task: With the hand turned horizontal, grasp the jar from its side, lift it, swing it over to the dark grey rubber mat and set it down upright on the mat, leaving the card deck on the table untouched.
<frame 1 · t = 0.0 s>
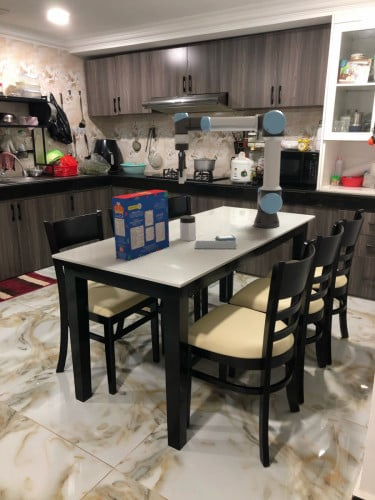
hand: (182, 182, 218), 28 cm above the table, tool pointing down, fingers open, 13 cm apart
blue cardboard box: (144, 252, 185), on the table
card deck: (225, 240, 205), on the table
mat: (215, 245, 194), on the table
jar: (188, 239, 207), on the table
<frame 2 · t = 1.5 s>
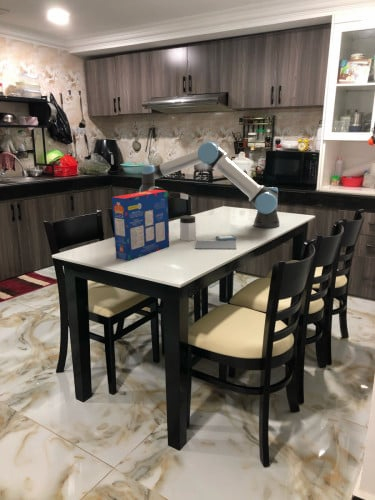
hand: (177, 198, 208), 21 cm above the table, tool horizontal, fingers open, 13 cm apart
nothing on the table moved.
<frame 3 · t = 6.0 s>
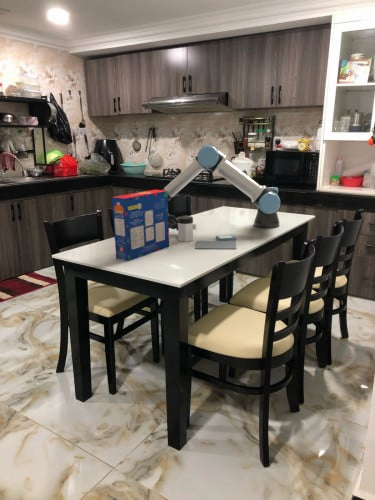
hand: (191, 227, 203), 7 cm above the table, tool horizontal, fingers open, 5 cm apart
jar: (185, 240, 206), on the table, touching gripper
everything else where it was.
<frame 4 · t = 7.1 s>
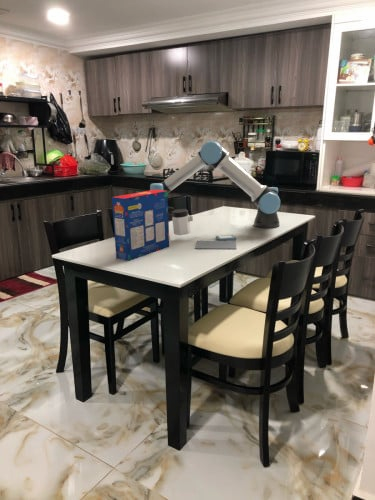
hand: (190, 218, 201), 11 cm above the table, tool horizontal, fingers closed on jar
jar: (182, 233, 204), point 4 cm above the table, touching gripper
everything else where it was.
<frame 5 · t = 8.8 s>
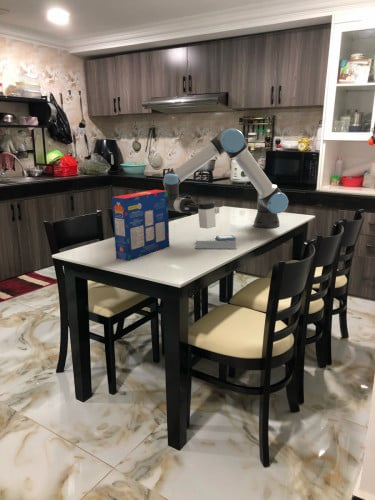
hand: (217, 210, 188), 18 cm above the table, tool horizontal, fingers closed on jar
jar: (208, 226, 190), point 10 cm above the table, touching gripper
everything else where it was.
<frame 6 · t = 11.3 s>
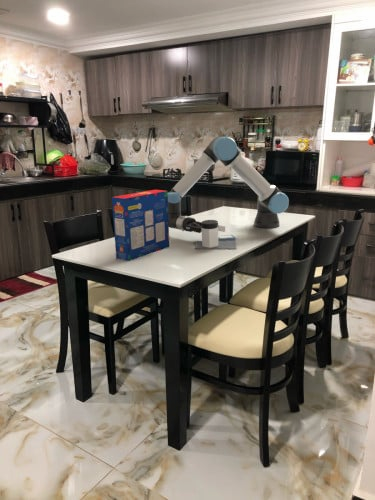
hand: (219, 230, 190), 8 cm above the table, tool horizontal, fingers open, 6 cm apart
jar: (210, 245, 192), resting on mat, touching gripper
everything else where it was.
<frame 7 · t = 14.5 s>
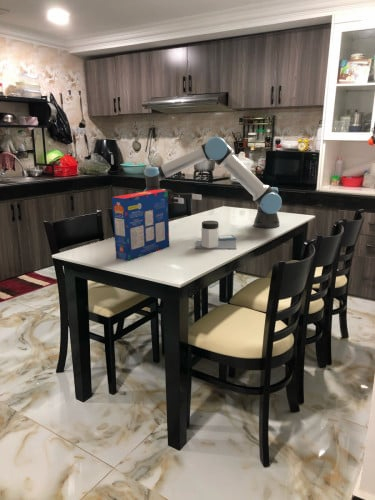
hand: (192, 199, 201), 21 cm above the table, tool horizontal, fingers open, 13 cm apart
jar: (210, 246, 191), resting on mat
everything else where it was.
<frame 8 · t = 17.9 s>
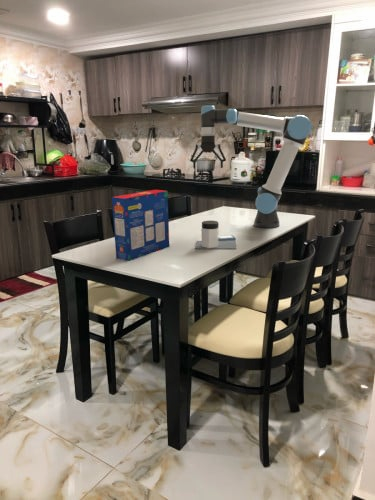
hand: (208, 174, 221), 32 cm above the table, tool pointing down, fingers open, 13 cm apart
nothing on the table moved.
at the end: jar inside the target area on the mat (4.0 cm from its centre), point 0.2 cm above the mat's base; jar tilted 0°; the gripper is holding nothing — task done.
